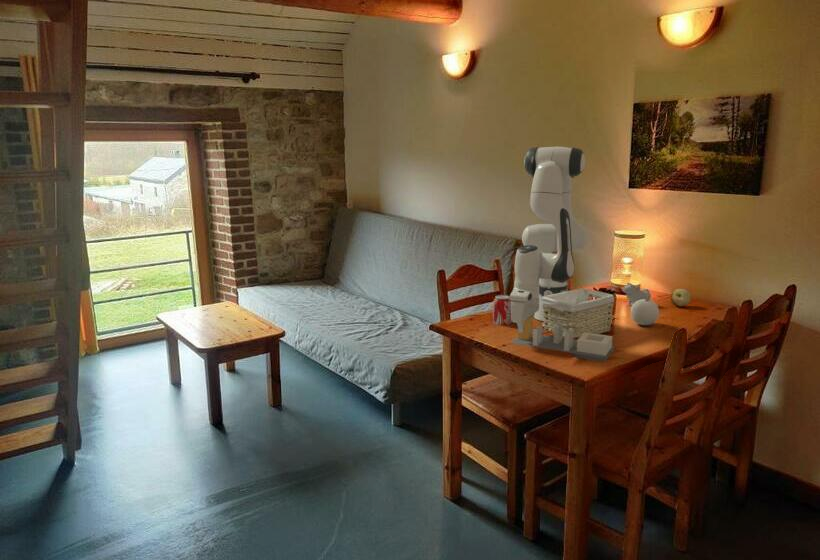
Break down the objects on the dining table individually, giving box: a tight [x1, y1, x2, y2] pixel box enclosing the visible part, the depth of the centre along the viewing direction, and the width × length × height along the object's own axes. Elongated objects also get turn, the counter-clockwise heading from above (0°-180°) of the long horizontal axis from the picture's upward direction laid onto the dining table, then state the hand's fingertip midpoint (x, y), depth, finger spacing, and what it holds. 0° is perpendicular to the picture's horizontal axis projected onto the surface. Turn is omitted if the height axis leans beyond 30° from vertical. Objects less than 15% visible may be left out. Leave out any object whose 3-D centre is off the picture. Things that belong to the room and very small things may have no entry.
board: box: [509, 323, 615, 363], centre depth 211 cm, size 14×33×8 cm, turn 60°
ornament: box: [630, 295, 660, 327], centre depth 236 cm, size 10×10×12 cm
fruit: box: [670, 288, 692, 308], centre depth 263 cm, size 8×8×8 cm
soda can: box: [492, 294, 512, 326], centre depth 238 cm, size 7×7×12 cm
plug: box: [511, 316, 534, 340], centre depth 219 cm, size 4×7×8 cm, turn 60°
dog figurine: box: [621, 282, 652, 309], centre depth 264 cm, size 5×13×11 cm, turn 95°
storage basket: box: [542, 287, 615, 339], centre depth 228 cm, size 24×16×15 cm
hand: (525, 328), depth 218 cm, fingers open, 8 cm apart
